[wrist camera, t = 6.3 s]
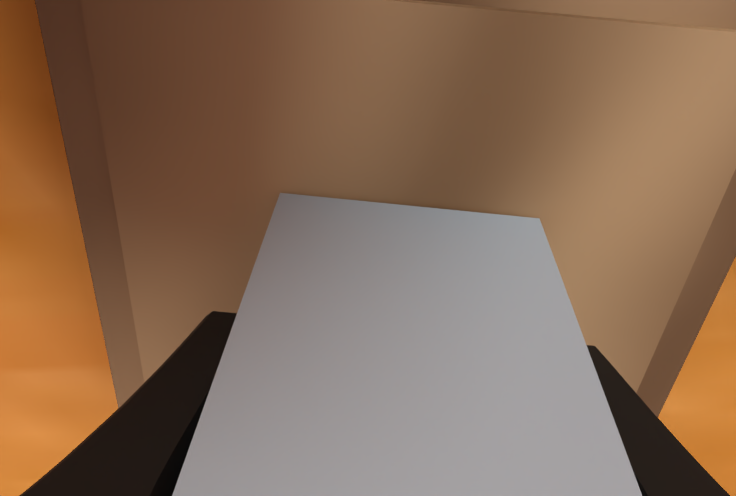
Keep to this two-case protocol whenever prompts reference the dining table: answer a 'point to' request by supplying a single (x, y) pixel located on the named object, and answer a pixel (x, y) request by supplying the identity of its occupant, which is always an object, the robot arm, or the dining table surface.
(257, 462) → the block
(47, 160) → the dining table surface
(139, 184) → the plinth
